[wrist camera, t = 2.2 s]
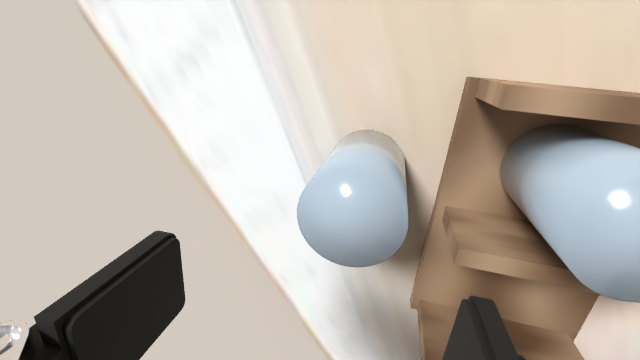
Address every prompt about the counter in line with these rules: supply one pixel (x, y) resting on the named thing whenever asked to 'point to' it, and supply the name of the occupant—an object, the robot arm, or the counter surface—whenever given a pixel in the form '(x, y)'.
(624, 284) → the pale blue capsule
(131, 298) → the robot arm
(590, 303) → the rack
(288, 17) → the counter surface
